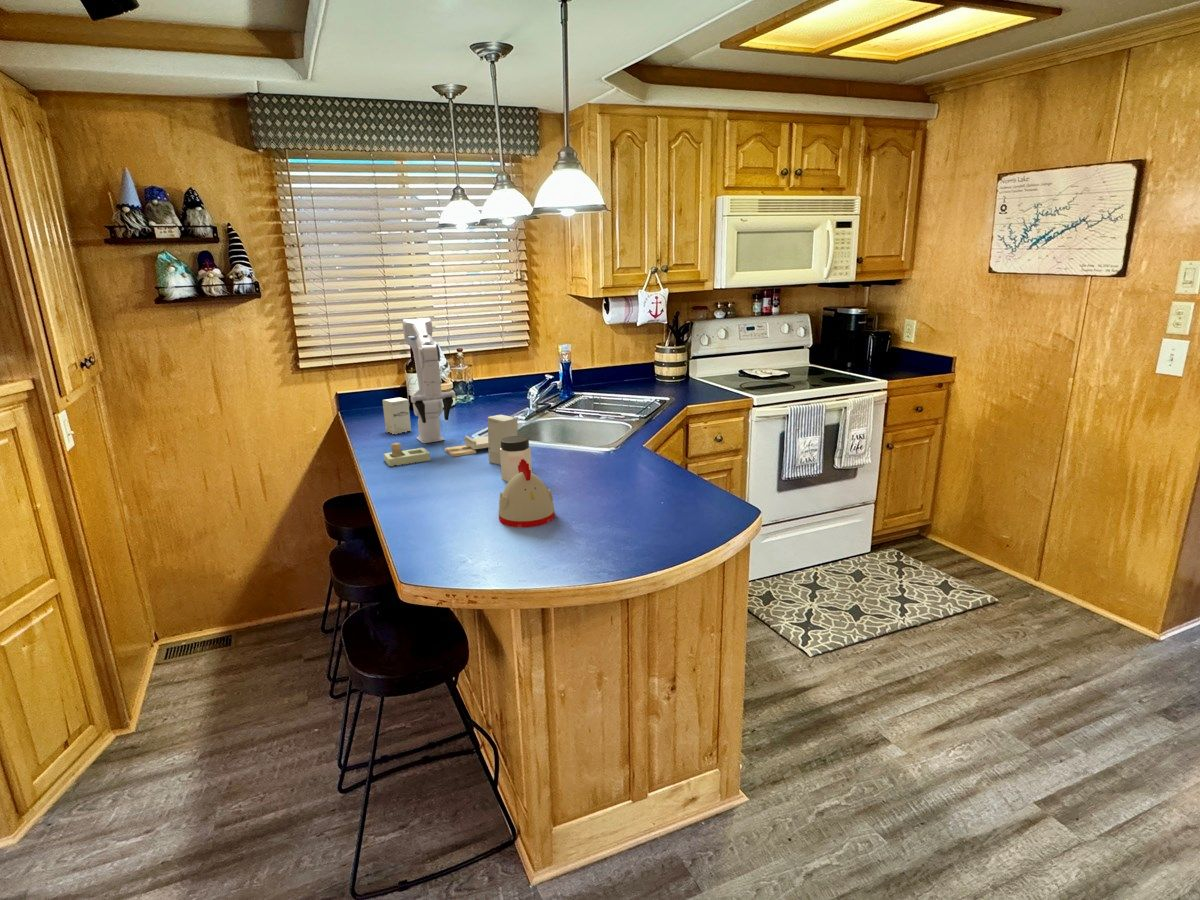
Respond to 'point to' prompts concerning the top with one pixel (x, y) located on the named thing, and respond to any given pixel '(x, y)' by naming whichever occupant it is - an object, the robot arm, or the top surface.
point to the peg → (396, 449)
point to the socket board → (407, 457)
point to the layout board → (460, 450)
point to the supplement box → (396, 415)
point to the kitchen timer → (525, 500)
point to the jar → (514, 455)
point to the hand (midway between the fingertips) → (435, 421)
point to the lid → (476, 442)
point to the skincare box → (499, 434)
